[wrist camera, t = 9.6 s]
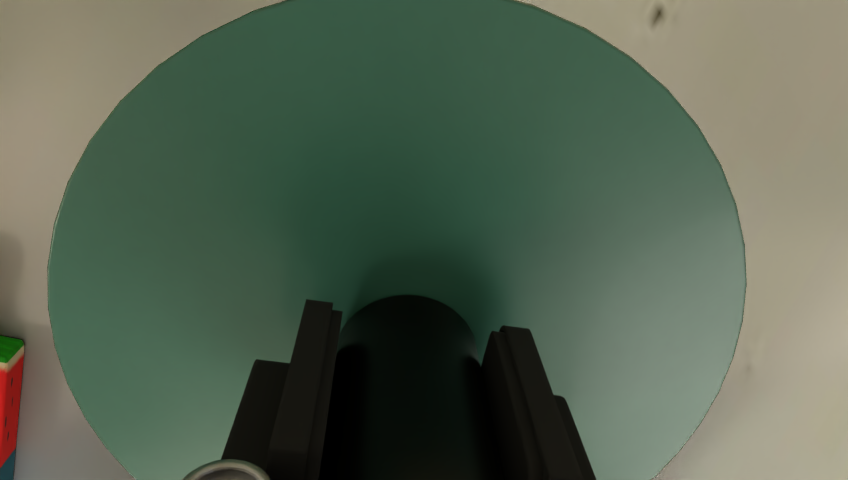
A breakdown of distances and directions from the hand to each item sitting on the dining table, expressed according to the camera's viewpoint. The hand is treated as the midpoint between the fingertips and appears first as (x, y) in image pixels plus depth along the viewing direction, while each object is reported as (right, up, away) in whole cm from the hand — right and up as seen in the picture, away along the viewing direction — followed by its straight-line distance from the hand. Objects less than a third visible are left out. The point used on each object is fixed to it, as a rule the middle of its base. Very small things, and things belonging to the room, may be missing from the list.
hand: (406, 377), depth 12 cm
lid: (0, +1, +1) cm, 1 cm away
